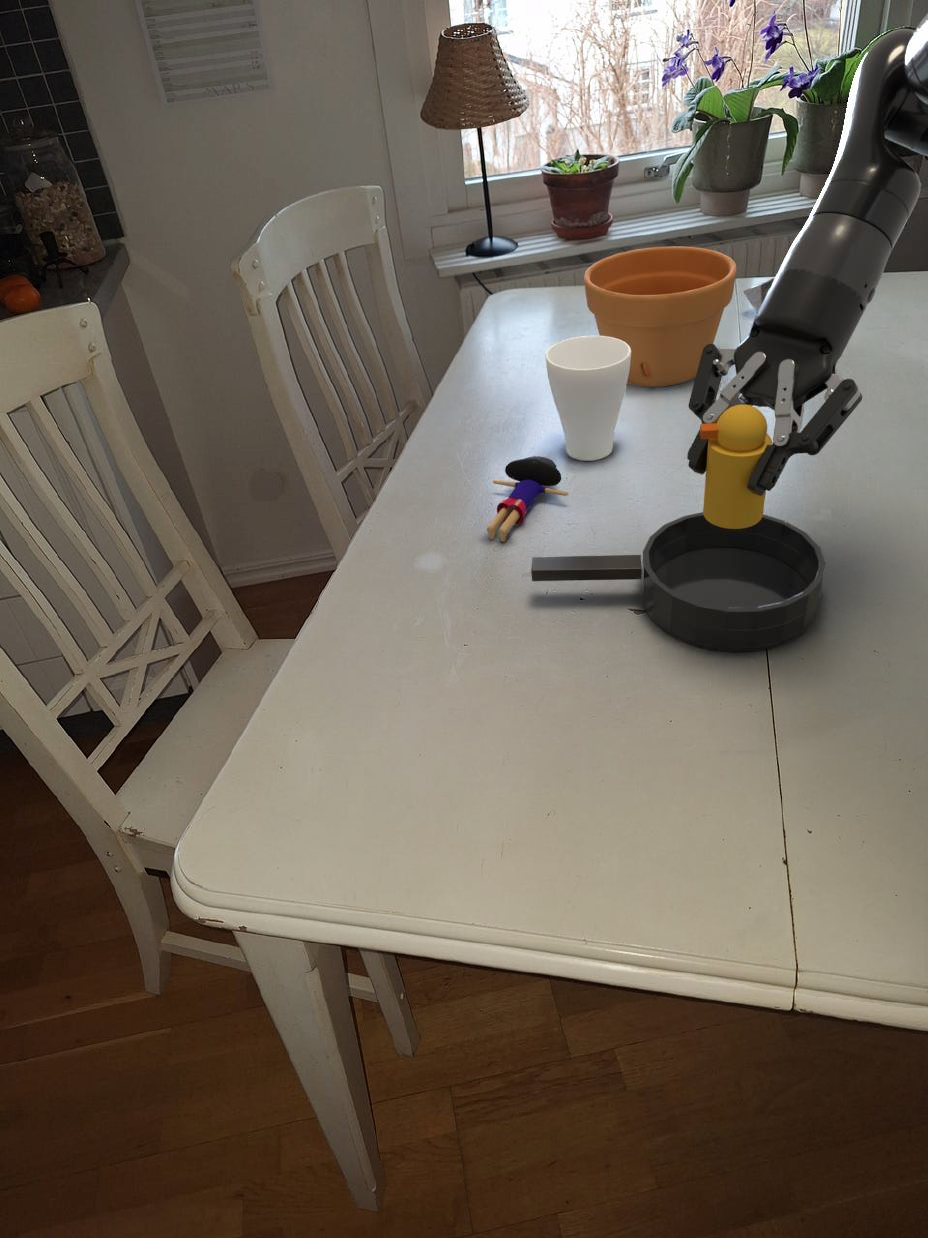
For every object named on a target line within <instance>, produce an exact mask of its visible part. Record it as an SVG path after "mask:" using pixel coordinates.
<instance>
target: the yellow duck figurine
mask: <svg viewBox="0 0 928 1238" xmlns="http://www.w3.org/2000/svg"><path fill="white" fill-rule="evenodd" d="M699 429H700V436H701V439H709V440H708V452H707V465H706V472H705V478H704V479H705V480H704V491H703V502H702V503H703V504H702V512H703V515H704V517H705V518H706V520H707V521H709V522H710V523H712V524H714V525H716V526H719V527H722V528H728V529H742V528H747V527H750V526H753V525H755V524H757V523H758V522H759V521H760V520H761V518H762V516H763V514H764V508H765V501H766V492H767V490H766V491H765V492H764V494H763V495H762V496H759V495H757V494H754V493H752V492H751V491H750V490H749V489H748V488H747V484H748V481H749V479H750V477H751V475H752V474H753V472H754V470H755V468H756V466H757V464H758V462H759V460H760V458H761V456H762V454H763V452H764V450H765V448H766V446H767V444H768V445H771V446H772V444H773V438H772V437H771V436H770V434H768V423H767V419H766V416H765V415H764V414H763V412H762V411H761V410H760V409H758V407H756V406H754V405H753V406H750V405H744V404H742V405H736V406H733V407H731V408H729V409H727V410H726V411H725V412H724V413H723V414H722V415H721V416H720V418H719V420H718V422H717V423H709V424H702V423H700V424H699Z"/></svg>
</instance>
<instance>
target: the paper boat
mask: <svg viewBox="0 0 928 1238" xmlns="http://www.w3.org/2000/svg"><path fill="white" fill-rule="evenodd" d="M774 279H775V277H772V278H770V279H767V280H765V281H763V282H761V283H758V284H756V285H754V286H751V287H750V288H747V289H745V290H743V291H742V292H743V294H744V295H745V297H746V299H747V300H748V302H749V303H750V305H751V307H752V308H753V310H754V311H755V314H757V313H758V311H759V309H760V307H761V305H762V303H763V301H764V299H765V297H766V295H767V293H768V291H769V289H770V287H771V285H772V283H773V281H774Z"/></svg>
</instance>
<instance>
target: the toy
mask: <svg viewBox="0 0 928 1238" xmlns="http://www.w3.org/2000/svg"><path fill="white" fill-rule="evenodd" d="M504 471H505V475H506V476H507V477H508V478H509V479H511V480H514V481H505V480H499V479H493V480H492V483H493V484H495V485H500V486H506V487H511V488H514V489H513V490H512V491H511V493H510V494H509V496H508V497H507V498H505V499H503V500H502V501H500V502H499V503H498V504H497V505H496V513H497V514H496V515H495V516H494V517H493V519H492V520H491V521H490V523H489V524H488V526H487V528H486V531H487V535H488V539H489V540H494V539H495V536H496V532H497V530H498V536H499V540H500V541H501V542H503V543H504V542H506V541H507V535H508V534H509V532H510V531H511V529H512V528H513V527H514V525H516V526H520V525H522V524H523V522H524V520H525V518H526V513H527V511H528V510H529V508H530V507H531V506H532V505H533V503H534V502H535V500H536V499H537V498H538V497H539V496H540V495H541V494H552V495H559V496H563V497H564V496H565V497H567V496H569V494H570V493H569V492H568V491H563V490H559V489H553V488H550V487H554V486H555V487H556V486H557V485H559V484H560V483H561V481H562V473H561V472H560V471H559V469H558V468H557V464H556V463H555V462H554V460H553V459H551V458H549V457H545V456H537V455H533V456H529V457H524V458H520V459H516V460H512V461H510V462H509V463H508V464H506V466H505V468H504ZM515 481H516V482H515ZM498 528H499V529H498Z"/></svg>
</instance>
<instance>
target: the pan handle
mask: <svg viewBox="0 0 928 1238" xmlns="http://www.w3.org/2000/svg"><path fill="white" fill-rule="evenodd" d="M530 571H531V573H530V574H531V581H532V582H564V581H565V582H570V581H571V582H572V581H626V580H627V581H629V580H632V581H633V580H642V556H641V554H613V555H611V554H610V555H568V556H565V555H563V556H562V555H561V556H533V557H532V558H531V569H530Z"/></svg>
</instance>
